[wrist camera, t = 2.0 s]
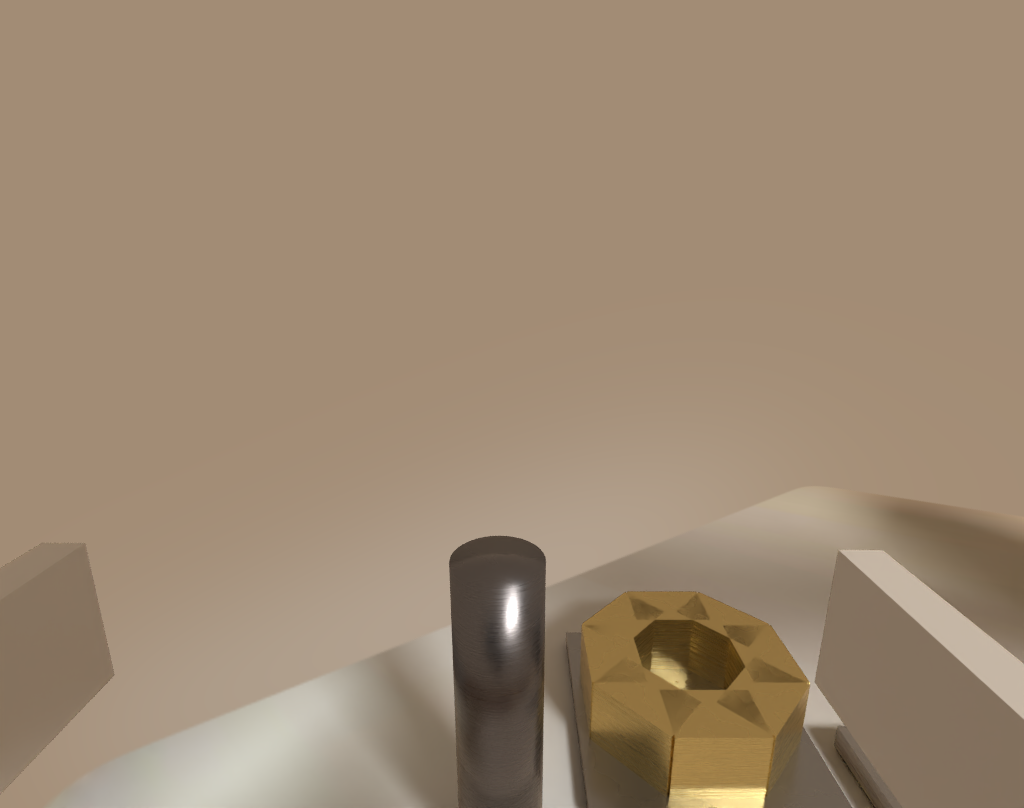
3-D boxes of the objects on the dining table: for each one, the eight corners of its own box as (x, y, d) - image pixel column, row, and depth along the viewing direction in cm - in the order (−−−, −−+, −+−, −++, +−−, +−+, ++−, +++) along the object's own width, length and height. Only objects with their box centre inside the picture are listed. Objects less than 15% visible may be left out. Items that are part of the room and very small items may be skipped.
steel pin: (540, 801, 26) (543, 536, 22) (543, 886, 23) (548, 588, 19) (464, 801, 26) (454, 536, 22) (456, 885, 23) (443, 588, 19)
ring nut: (745, 640, 37) (752, 586, 36) (850, 819, 25) (865, 748, 24) (565, 640, 37) (567, 586, 36) (588, 818, 25) (591, 747, 24)
